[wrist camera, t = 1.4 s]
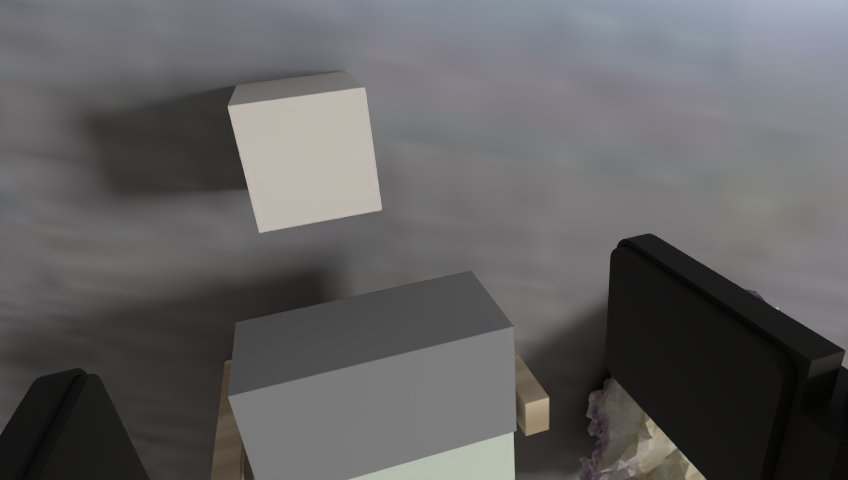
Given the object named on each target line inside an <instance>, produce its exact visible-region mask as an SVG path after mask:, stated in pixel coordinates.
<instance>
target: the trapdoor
mask: <svg viewBox="0 0 848 480" xmlns="http://www.w3.org/2000/svg"><path fill="white" fill-rule="evenodd" d="M228 398H229V401H230V404H231V407H232V410H233V413H234V417H235V420H236V423H237V426H238V429H239V432H240V435H241V438H242V441H243V444H244V447H245V450H246V453H247V456H248V459H249V462H250V465H251V468H252V473H253V480H515V467H514V433H513V432H515V431H517V429H516V391H515V353H514V326H513V325H512V323H511V322H510V321H509V319H508V318H507V317H506V316H505V314H504V313H503V312H502V310H501V309H500V308H499V306H498V305H497V304H496V303H495V301H494V300H493V299H492V297H491V296H490V295H489V294H488V292H487V291H486V290H485V288H484V287H483V286H482V284H481V283H480V282H479V281H478V279H477V278H476V277H475V275H474V274H473V273H472V271H468V272H464V273H459V274H454V275H450V276H445V277H441V278H436V279H432V280H427V281H422V282H418V283H413V284H409V285H404V286H400V287H395V288H390V289H386V290H381V291H377V292H372V293H368V294H363V295H359V296H354V297H349V298H345V299H340V300H336V301H331V302H327V303H322V304H317V305H313V306H308V307H304V308H299V309H295V310H290V311H285V312H281V313H276V314H272V315H267V316H263V317H258V318H254V319H249V320H244V321H240V322H236V325H235V334H234V344H233V353H232V363H231V372H230V382H229V391H228Z"/></svg>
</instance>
